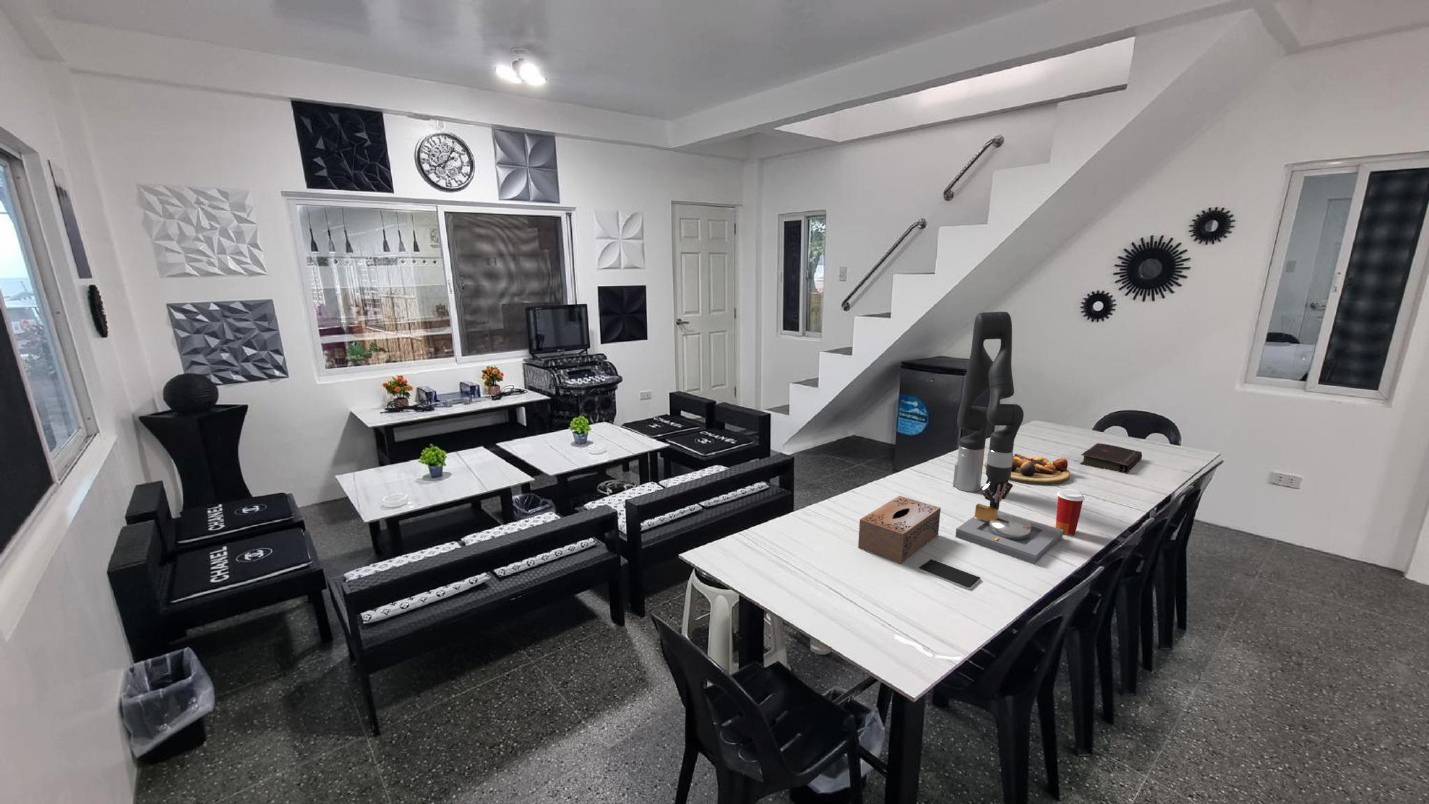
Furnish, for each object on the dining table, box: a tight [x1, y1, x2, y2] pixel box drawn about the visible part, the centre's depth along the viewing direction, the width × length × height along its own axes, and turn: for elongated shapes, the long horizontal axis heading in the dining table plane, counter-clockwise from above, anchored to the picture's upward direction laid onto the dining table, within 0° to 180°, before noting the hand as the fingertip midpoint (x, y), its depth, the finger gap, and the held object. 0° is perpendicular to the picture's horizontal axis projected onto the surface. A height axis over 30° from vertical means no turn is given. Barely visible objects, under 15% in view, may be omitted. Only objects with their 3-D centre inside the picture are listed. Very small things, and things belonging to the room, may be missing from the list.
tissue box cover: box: [857, 495, 941, 565], centre depth 181 cm, size 26×14×10 cm, turn 135°
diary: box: [1079, 442, 1143, 475], centre depth 252 cm, size 19×25×5 cm
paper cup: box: [1055, 488, 1086, 537], centre depth 186 cm, size 8×8×14 cm
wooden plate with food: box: [984, 453, 1072, 485], centre depth 241 cm, size 32×32×8 cm
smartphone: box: [917, 558, 982, 591], centre depth 163 cm, size 8×1×15 cm
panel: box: [955, 510, 1064, 565], centre depth 184 cm, size 24×24×3 cm
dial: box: [974, 503, 1032, 540], centre depth 185 cm, size 17×12×6 cm
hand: (993, 511), depth 191 cm, fingers closed
